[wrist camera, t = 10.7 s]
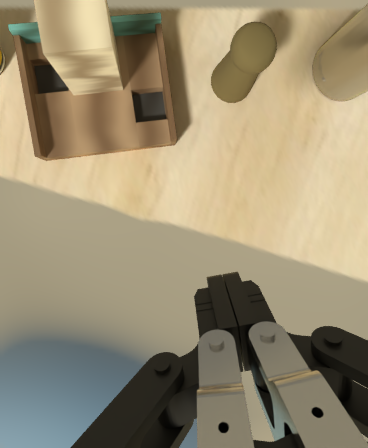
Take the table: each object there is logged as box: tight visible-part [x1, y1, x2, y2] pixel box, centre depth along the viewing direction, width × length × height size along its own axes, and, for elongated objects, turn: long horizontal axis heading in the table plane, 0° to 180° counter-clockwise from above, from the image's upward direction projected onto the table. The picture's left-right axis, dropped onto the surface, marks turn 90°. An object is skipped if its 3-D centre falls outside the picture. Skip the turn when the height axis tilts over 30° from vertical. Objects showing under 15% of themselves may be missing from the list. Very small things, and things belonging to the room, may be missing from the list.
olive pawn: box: [211, 22, 277, 103], centre depth 37 cm, size 6×6×11 cm
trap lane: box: [8, 13, 177, 161], centre depth 39 cm, size 18×15×5 cm
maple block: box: [34, 0, 123, 95], centre depth 33 cm, size 6×6×11 cm
